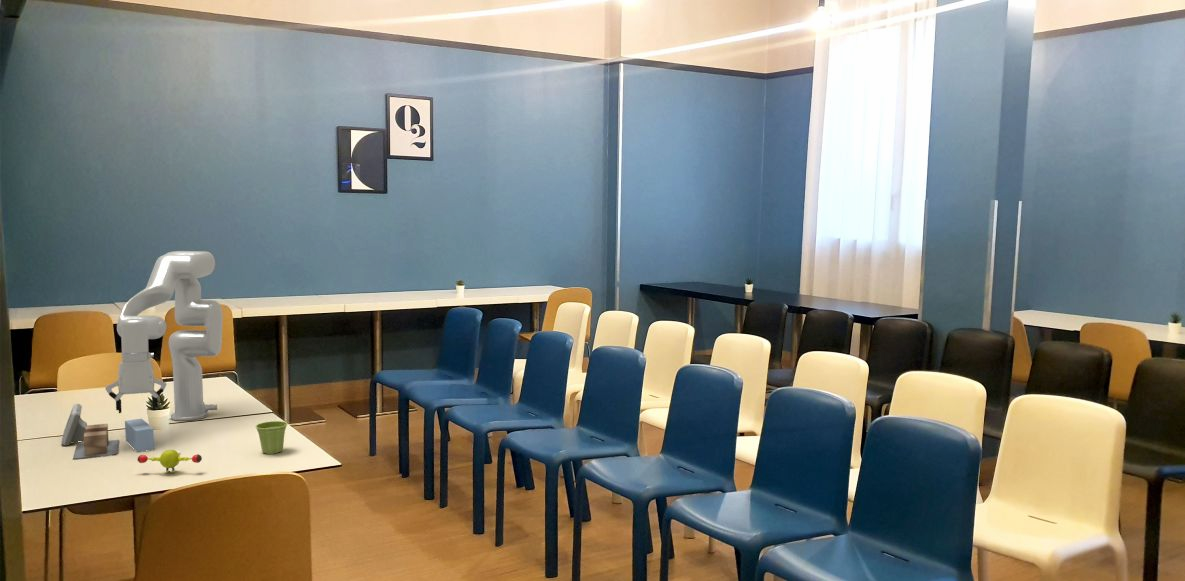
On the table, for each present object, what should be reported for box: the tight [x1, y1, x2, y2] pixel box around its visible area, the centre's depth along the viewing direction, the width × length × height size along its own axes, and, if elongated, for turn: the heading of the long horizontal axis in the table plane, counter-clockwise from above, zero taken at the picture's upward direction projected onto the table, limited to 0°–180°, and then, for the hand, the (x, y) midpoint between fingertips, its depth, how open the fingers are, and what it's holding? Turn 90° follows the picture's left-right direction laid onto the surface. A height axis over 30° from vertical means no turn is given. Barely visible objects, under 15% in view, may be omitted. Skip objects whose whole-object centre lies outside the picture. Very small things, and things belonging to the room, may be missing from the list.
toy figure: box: [137, 449, 203, 474], centre depth 255 cm, size 18×6×7 cm, turn 92°
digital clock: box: [61, 403, 88, 446], centre depth 289 cm, size 16×9×11 cm, turn 17°
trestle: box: [72, 423, 120, 460], centre depth 278 cm, size 12×18×6 cm, turn 27°
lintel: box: [124, 418, 155, 453], centre depth 283 cm, size 5×16×7 cm, turn 39°
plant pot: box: [255, 420, 288, 455], centre depth 277 cm, size 9×9×9 cm
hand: (137, 411), depth 282 cm, fingers open, 9 cm apart
